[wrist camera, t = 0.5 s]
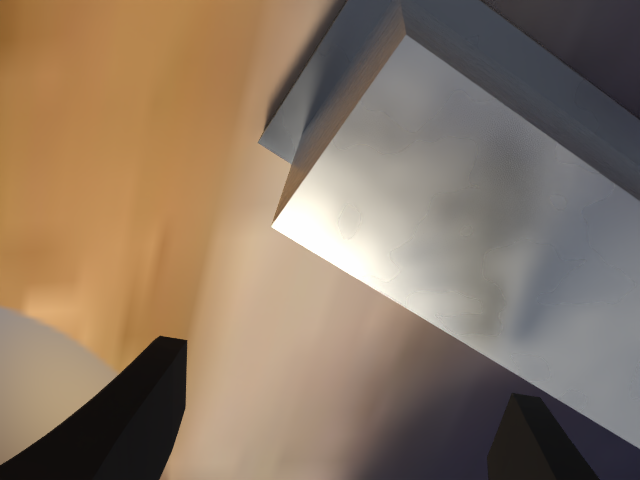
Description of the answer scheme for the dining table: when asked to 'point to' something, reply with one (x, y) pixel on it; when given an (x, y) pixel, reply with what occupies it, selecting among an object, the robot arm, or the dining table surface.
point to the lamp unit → (474, 192)
